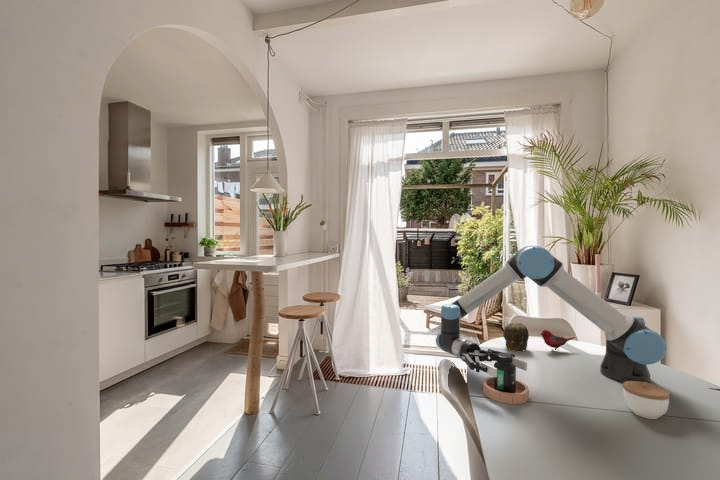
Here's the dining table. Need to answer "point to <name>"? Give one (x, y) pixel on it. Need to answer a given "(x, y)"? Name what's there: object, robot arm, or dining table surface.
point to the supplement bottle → (505, 374)
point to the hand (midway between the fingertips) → (511, 369)
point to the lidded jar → (646, 399)
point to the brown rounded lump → (516, 336)
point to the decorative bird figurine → (554, 339)
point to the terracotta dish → (510, 398)
